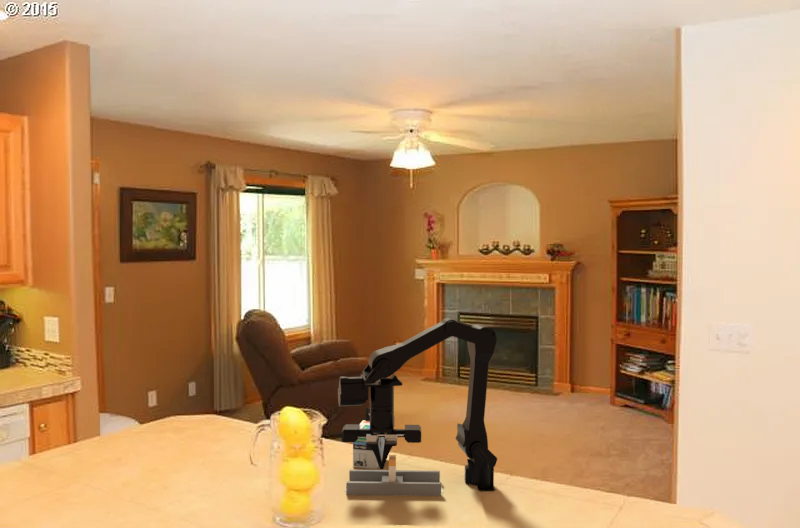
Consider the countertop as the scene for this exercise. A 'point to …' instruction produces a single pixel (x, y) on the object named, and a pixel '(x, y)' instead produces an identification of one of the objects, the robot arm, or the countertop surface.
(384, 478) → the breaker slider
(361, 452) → the light bulb box
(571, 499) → the countertop surface
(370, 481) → the housing
